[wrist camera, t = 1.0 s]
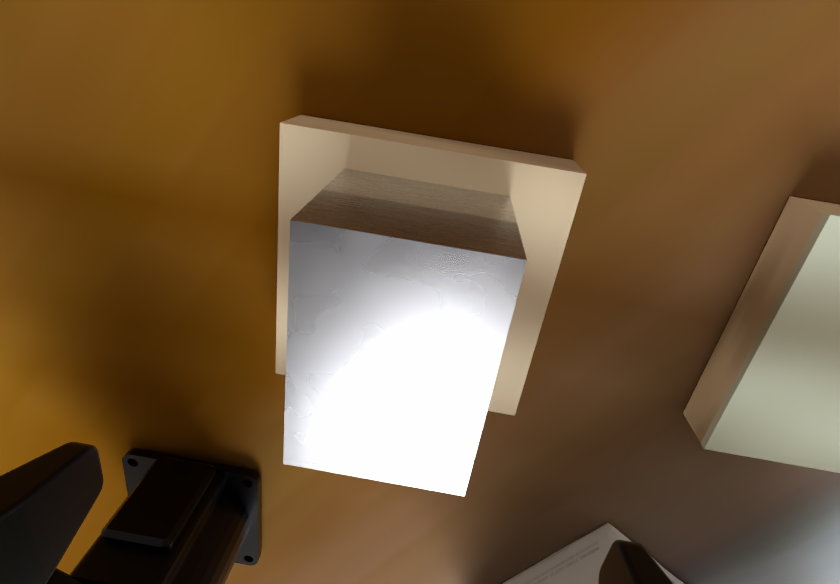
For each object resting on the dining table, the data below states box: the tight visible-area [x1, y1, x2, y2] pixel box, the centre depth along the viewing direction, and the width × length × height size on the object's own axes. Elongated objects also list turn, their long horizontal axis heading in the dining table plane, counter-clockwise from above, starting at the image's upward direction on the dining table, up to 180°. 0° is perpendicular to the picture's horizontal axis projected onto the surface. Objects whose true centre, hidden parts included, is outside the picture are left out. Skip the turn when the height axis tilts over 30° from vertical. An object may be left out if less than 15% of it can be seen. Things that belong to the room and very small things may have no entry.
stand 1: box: [276, 115, 587, 416], centre depth 17 cm, size 9×9×2 cm
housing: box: [283, 168, 527, 496], centre depth 14 cm, size 7×5×5 cm
